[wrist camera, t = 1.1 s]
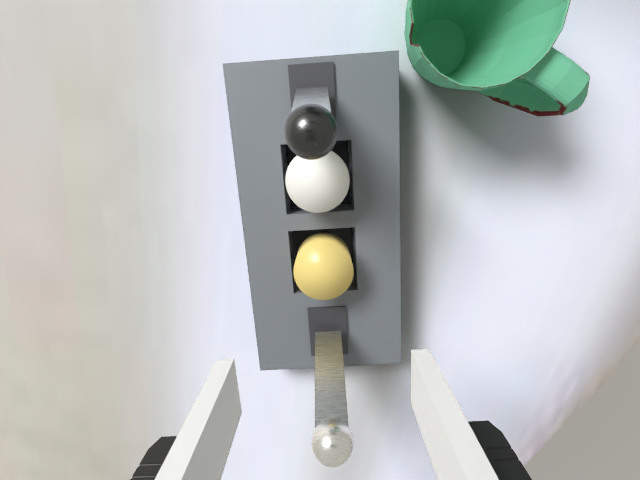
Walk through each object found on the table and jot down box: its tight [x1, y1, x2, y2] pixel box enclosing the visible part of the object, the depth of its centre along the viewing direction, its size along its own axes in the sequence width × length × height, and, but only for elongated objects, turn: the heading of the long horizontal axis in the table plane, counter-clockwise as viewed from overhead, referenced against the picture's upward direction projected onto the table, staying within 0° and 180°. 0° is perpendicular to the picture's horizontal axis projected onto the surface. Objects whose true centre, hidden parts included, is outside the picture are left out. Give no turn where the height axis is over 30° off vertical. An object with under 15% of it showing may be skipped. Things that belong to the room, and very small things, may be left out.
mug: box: [405, 0, 590, 116], centre depth 26 cm, size 15×10×10 cm
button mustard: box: [293, 232, 354, 300], centre depth 31 cm, size 5×5×4 cm
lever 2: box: [311, 331, 354, 467], centre depth 28 cm, size 3×3×11 cm
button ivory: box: [285, 151, 350, 213], centre depth 29 cm, size 5×5×4 cm
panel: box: [223, 51, 401, 370], centre depth 33 cm, size 28×14×4 cm, turn 4°
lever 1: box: [284, 86, 338, 160], centre depth 23 cm, size 3×3×11 cm
